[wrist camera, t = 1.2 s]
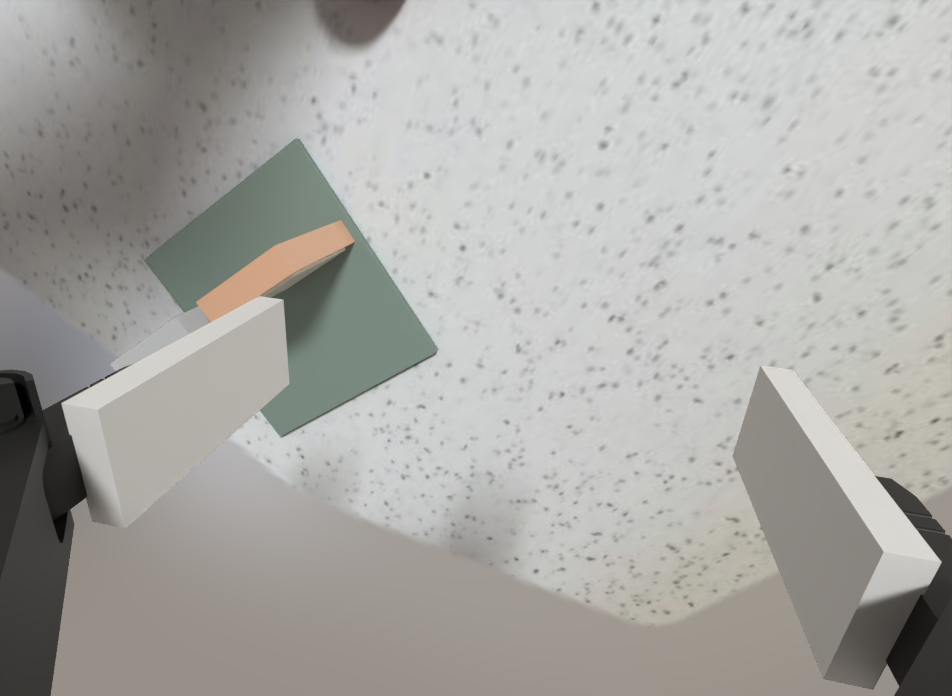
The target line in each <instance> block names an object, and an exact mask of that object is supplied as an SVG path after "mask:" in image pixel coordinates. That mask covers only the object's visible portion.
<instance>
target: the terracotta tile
mask: <svg viewBox="0 0 952 696" xmlns="http://www.w3.org/2000/svg"><path fill="white" fill-rule="evenodd" d="M354 242H355V240H354V239H353V237H352V236H351V234H350V233H349V231H348V230H347V228H346V227H345V225H344V224H343V222H342V221H341V220H339V221H337V222H334V223H332V224H329V225H326V226H324V227H321V228H319V229H316V230H313V231H311V232H308V233H306V234H303V235H300V236H298V237H295V238H293V239H290V240H288V241H285V242H282V243H280V244H277V245H275V246H273V247H272V248H271V249H269V250H268V251H267V252H265V253H264V254H262V255H261V256H260V257H258V258H257V259H255V260H254V261H253V262H251V263H250V264H248V265H247V266H246V267H244V268H243V269H241V270H240V271H239V272H237V273H236V274H234V275H233V276H232V277H230V278H229V279H228V280H226V281H225V282H223V283H222V284H221V285H219V286H218V287H216V288H215V289H214V290H212V291H211V292H209V293H208V294H207V295H205V296H204V297H202V298H201V299H200V300H198V301H197V302H196V303H197V304H198V306H199V307H200V308H201V309H202V311H203V312H204V313H205V315H206V316H207V317H208V319H209V320H210V321H211V322H212V321H214V320H216V319H218V318H220V317H222V316H223V315H225V314H227V313H229V312H231V311H233V310H235V309H236V308H238V307H240V306H242V305H244V304H246V303H248V302H249V301H251V300H253V299H255V298H257V297H259V296H261V297H268V298H271V297H273V296H275V295H277V294H279V293H280V292H282V291H284V290H286V289H288V288H289V287H291V286H292V285H294V284H295V283H297V282H298V281H300V280H301V279H303V278H304V277H306V276H307V275H309V274H310V273H312V272H313V271H315V270H316V269H318V268H319V267H321V266H322V265H324V264H325V263H327V262H328V261H330V260H331V259H333V258H334V257H336V256H337V255H339V254H340V253H342V252H343V251H345V250H346V249H345V248H346V247H348V246H349V245H351V244H352V243H354Z"/></svg>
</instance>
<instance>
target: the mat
mask: <svg viewBox="0 0 952 696" xmlns="http://www.w3.org/2000/svg"><path fill="white" fill-rule="evenodd" d="M339 220H341V221H342V222H343V224H344V225H345V227H346V228H347V230H348V231H349V233H350V234H351V236H352V237H353V239H354V240H355V242H354V243H352V244H351V245H349V246H348V247H346V248H345V249H346V250H345V251H343V252H342V253H340V254H339V255H337V256H336V257H334V258H333V259H331V260H330V261H328V262H327V263H325V264H324V265H322V266H321V267H319V268H318V269H316V270H315V271H313V272H312V273H310V274H309V275H307V276H306V277H304V278H303V279H301V280H300V281H298V282H297V283H295V284H294V285H292V286H291V287H289V288H288V289H286V290H284V291H282V292H280V293H279V294H277V295H275V296H273V297H271V298H276V299H283V301H284V314H285V328H286V342H287V356H288V369H289V383H290V384H289V385H288V386H287V387H285V388H284V389H283V390H282V391H281V392H280V393H279V394H277V395H276V396H275V397H274V398H273V399H272V400H271V401H269V402H268V403H267V404H266V405H265V406H264V407H263V408H262V409H260V411H261V412H262V413H263V415H264V416H265V417H266V419H267V420H268V421H269V422H270V424H271V425H272V426H273V428H274V429H275V430H276V432H277V433H278V434H279V435H280V436H282V435H284V434H286V433H288V432H289V431H291V430H293V429H295V428H297V427H299V426H301V425H302V424H304V423H306V422H308V421H310V420H312V419H314V418H315V417H317V416H319V415H321V414H323V413H325V412H327V411H328V410H330V409H332V408H334V407H336V406H338V405H340V404H341V403H343V402H345V401H347V400H349V399H351V398H353V397H354V396H356V395H358V394H360V393H362V392H364V391H365V390H367V389H369V388H371V387H373V386H375V385H377V384H378V383H380V382H382V381H384V380H386V379H388V378H390V377H391V376H393V375H395V374H397V373H399V372H401V371H403V370H404V369H406V368H408V367H410V366H412V365H414V364H416V363H417V362H419V361H421V360H423V359H425V358H427V357H429V356H430V355H432V354H434V353H436V352H437V351H438V348H437V347H436V345H435V344H434V342H433V341H432V339H431V338H430V336H429V335H428V333H427V332H426V330H425V328H424V327H423V325H422V324H421V322H420V321H419V319H418V318H417V316H416V315H415V313H414V312H413V310H412V309H411V307H410V306H409V304H408V303H407V301H406V300H405V298H404V297H403V295H402V294H401V292H400V291H399V289H398V288H397V286H396V285H395V283H394V282H393V280H392V279H391V277H390V276H389V274H388V273H387V271H386V270H385V268H384V267H383V265H382V263H381V262H380V260H379V259H378V257H377V256H376V254H375V253H374V251H373V250H372V248H371V247H370V245H369V244H368V242H367V241H366V239H365V238H364V236H363V235H362V233H361V232H360V230H359V229H358V227H357V226H356V224H355V223H354V221H353V220H352V218H351V217H350V215H349V214H348V212H347V211H346V209H345V208H344V206H343V205H342V203H341V202H340V200H339V198H338V197H337V195H336V194H335V192H334V191H333V189H332V188H331V186H330V185H329V183H328V182H327V180H326V179H325V177H324V176H323V174H322V173H321V171H320V170H319V168H318V167H317V165H316V164H315V162H314V161H313V159H312V158H311V156H310V155H309V153H308V152H307V150H306V149H305V147H304V146H303V144H302V143H301V141H300V140H299V139H295V140H293V141H292V142H291V143H290V144H288V145H287V146H286V147H285V148H283V149H282V150H281V151H280V152H278V153H277V154H276V155H275V156H273V157H272V158H271V159H270V160H268V161H267V162H266V163H265V164H263V165H262V166H261V167H260V168H258V169H257V170H256V171H255V172H253V173H252V174H251V175H250V176H248V177H247V178H246V179H245V180H244V181H242V182H241V183H240V184H239V185H237V186H236V187H235V188H234V189H232V190H231V191H230V192H229V193H227V194H226V195H225V196H224V197H222V198H221V199H220V200H219V201H217V202H216V203H215V204H214V205H212V206H211V207H210V208H209V209H207V210H206V211H205V212H204V213H202V214H201V215H200V216H199V217H197V218H196V219H195V220H194V221H192V222H191V223H190V224H189V225H187V226H186V227H185V228H184V229H182V230H181V231H180V232H179V233H177V234H176V235H175V236H174V237H172V238H171V239H170V240H169V241H167V242H166V243H165V244H164V245H162V246H161V247H160V248H159V249H157V250H156V251H155V252H154V253H152V254H151V255H150V256H149V257H147V258H146V259H145V260H144V261H145V262H146V263H147V264H148V266H149V267H150V268H151V270H152V271H153V272H154V274H155V275H156V276H157V277H158V279H159V280H160V281H161V283H162V284H163V285H164V286H165V288H166V289H167V290H168V292H169V293H170V294H171V296H172V297H173V298H174V299H175V301H176V302H177V303H178V305H179V306H180V307H181V308H182V310H183V311H184V312H187V311H189V310H191V309H194V308H196V307H198V304H197V303H196V302H197V301H198V300H200V299H201V298H202V297H204V296H205V295H207V294H208V293H209V292H211V291H212V290H214V289H215V288H216V287H218V286H219V285H221V284H222V283H223V282H225V281H226V280H228V279H229V278H230V277H232V276H233V275H234V274H236V273H237V272H239V271H240V270H241V269H243V268H244V267H246V266H247V265H248V264H250V263H251V262H253V261H254V260H255V259H257V258H258V257H260V256H261V255H262V254H264V253H265V252H267V251H268V250H269V249H271V248H272V247H273V246H275V245H277V244H280V243H282V242H285V241H288V240H290V239H293V238H295V237H298V236H300V235H303V234H306V233H308V232H311V231H313V230H316V229H319V228H321V227H324V226H326V225H329V224H332V223H334V222H337V221H339Z"/></svg>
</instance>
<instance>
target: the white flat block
mask: <svg viewBox="0 0 952 696" xmlns="http://www.w3.org/2000/svg"><path fill="white" fill-rule="evenodd" d="M209 323H211V321H210V320H209V319H208V317H207V316H206V315H205V313H204V312H203V311H202V309H201V308H200V307H199V306H198V307H196V308H194V309H191V310H189V311H187V312H185V313H183V314H181V315H179V316H176V317H175V318H173V319H172V320H170V321H169V322H168V323H166V324H165V325H164V326H162V327H161V328H159V329H158V330H157V331H155V332H154V333H152V334H151V335H150V336H148V337H147V338H145V339H144V340H143V341H141V342H140V343H138V344H137V345H136V346H134V347H133V348H131V349H130V350H129V351H127V352H126V353H125V354H123V355H122V356H120V357H119V358H118V359H116V360H115V361H113V362H112V363H111V364H110V365H111V366H112V368H113V369H114V370H115V371H117V370H119V369H121V368H123V367H126V366H129V365H132V364H135V363H137V362H138V361H140V360H142V359H144V358H146V357H148V356H149V355H151V354H153V353H155V352H157V351H159V350H161V349H162V348H164V347H166V346H168V345H170V344H172V343H174V342H175V341H177V340H179V339H181V338H183V337H185V336H186V335H188V334H190V333H192V332H194V331H196V330H198V329H199V328H201V327H203V326H205V325H207V324H209Z"/></svg>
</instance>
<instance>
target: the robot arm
mask: <svg viewBox="0 0 952 696" xmlns="http://www.w3.org/2000/svg"><path fill="white" fill-rule="evenodd" d="M289 384H290V383H289V369H288V356H287V342H286V328H285V314H284V301H283V299H276V298H268V297H261V296H259V297H257V298H255V299H253V300H251V301H249V302H248V303H246V304H244V305H242V306H240V307H238V308H236V309H235V310H233V311H231V312H229V313H227V314H225V315H223V316H222V317H220V318H218V319H216V320H214V321H212V322H211V323H209V324H207V325H205V326H203V327H201V328H199V329H198V330H196V331H194V332H192V333H190V334H188V335H186V336H185V337H183V338H181V339H179V340H177V341H175V342H174V343H172V344H170V345H168V346H166V347H164V348H162V349H161V350H159V351H157V352H155V353H153V354H151V355H149V356H148V357H146V358H144V359H142V360H140V361H138V362H137V363H135V364H132V365H129V366H126V367H123V368H121V369H119V370H117V371H116V372H114V373H112V374H110V375H108V376H106V377H105V379H101V380H99V381H97V382H95V383H93V384H91V385H90V387H89V388H88V387H86V388H84V389H82V390H80V391H78V392H76V393H74V394H73V395H71V396H69V397H67V398H65V399H63V400H61V401H59V402H58V403H56V404H54V405H52V406H50V407H48V408H46V409H45V410H43V411H42V407H41V404H40V401H39V397H38V394H37V390H36V386H35V383H34V379H33V376H32V374H30V373H28V372H25V371H17V370H3V371H0V696H50V695H51V688H52V681H53V674H54V666H55V659H56V652H57V645H58V637H59V630H60V623H61V615H62V608H63V601H64V594H65V587H66V580H67V572H68V565H69V558H70V551H71V544H72V536H73V529H74V522H73V518H72V514H71V511H70V509H71V508H73V507H74V506H75V505H77V504H78V503H79V502H81V501H82V500H83V499H84V498H86V499H87V503H88V507H89V510H90V514H91V518H92V521H93V522H98V523H103V524H108V525H112V526H117V527H122V528H127V527H128V526H129V525H130V524H131V523H132V522H133V521H134V520H136V519H137V518H138V517H139V516H140V515H141V514H142V513H144V512H145V511H146V510H147V509H148V508H149V507H150V506H151V505H153V504H154V503H155V502H156V501H157V500H158V499H159V498H161V497H162V496H163V495H164V494H165V493H166V492H167V491H168V490H170V489H171V488H172V487H173V486H174V485H175V484H176V483H178V482H179V481H180V480H181V479H182V478H183V477H184V476H185V475H187V474H188V473H189V472H190V471H191V470H192V469H193V468H195V466H197V465H198V464H199V463H200V462H201V461H202V460H204V459H205V458H206V457H207V456H208V455H209V454H210V453H212V452H213V451H214V450H215V449H216V448H217V447H218V446H220V444H222V443H223V442H224V441H225V440H226V439H228V438H229V437H230V436H231V435H232V434H233V433H234V432H235V431H237V430H238V429H239V428H240V427H241V426H242V425H243V424H245V423H246V422H247V421H248V420H249V419H250V418H251V417H252V416H254V415H255V414H256V413H257V412H258V411H259V410H260V409H262V408H263V407H264V406H265V405H266V404H267V403H268V402H269V401H271V400H272V399H273V398H274V397H275V396H276V395H277V394H279V393H280V392H281V391H282V390H283V389H284V388H285V387H287V386H288V385H289ZM733 458H734V460H735V463H736V465H737V468H738V470H739V473H740V475H741V478H742V480H743V483H744V485H745V488H746V490H747V492H748V495H749V497H750V500H751V502H752V505H753V507H754V510H755V512H756V515H757V517H758V520H759V522H760V525H761V527H762V529H763V532H764V534H765V537H766V539H767V542H768V544H769V547H770V549H771V552H772V554H773V557H774V559H775V562H776V564H777V566H778V569H779V571H780V574H781V576H782V579H783V581H784V584H785V586H786V589H787V591H788V593H789V596H790V599H791V601H792V603H793V606H794V608H795V611H796V613H797V616H798V618H799V621H800V623H801V626H802V628H803V631H804V633H805V635H806V638H807V640H808V643H809V645H810V648H811V650H812V653H813V655H814V658H815V660H816V663H817V665H818V668H819V670H820V672H821V675H822V677H823V679H826V680H831V681H836V682H840V683H845V684H849V685H854V686H859V687H863V688H868V689H874V687H875V685H876V683H877V681H878V680H879V678H880V676H881V674H882V672H883V670H884V668H885V667H886V665H887V664H888V666H889V668H890V670H891V672H892V673H893V675H894V677H895V679H896V681H897V683H898V684H899V689H898V690H897V692H896V694H895V695H894V696H952V539H951V538H950V536H949V535H945V530H944V529H943V528H942V527H941V525H940V524H939V523H938V522H937V521H936V520H935V519H932V515H931V514H930V512H929V511H928V510H927V509H926V508H925V507H924V505H923V504H922V503H921V502H920V501H919V499H918V498H917V497H916V496H915V495H913V494H912V493H910V492H909V491H908V490H906V489H905V488H903V487H902V486H901V485H899V484H898V483H897V482H895V481H894V480H892V479H889V478H883V477H877V476H874V474H873V473H872V472H871V470H870V469H869V468H868V467H867V465H866V464H865V463H864V461H863V460H862V459H861V458H860V456H859V455H858V454H857V452H856V451H855V450H854V449H853V447H852V446H851V445H850V443H849V442H848V441H847V440H846V438H845V437H844V436H843V434H842V433H841V432H840V431H839V429H838V428H837V427H836V425H835V424H834V423H833V422H832V420H831V419H830V418H829V416H828V415H827V414H826V413H825V411H824V410H823V409H822V407H821V406H820V405H819V404H818V402H817V401H816V400H815V398H814V397H813V396H812V395H811V393H810V392H809V391H808V389H807V388H806V387H805V386H804V384H803V383H802V382H801V380H800V379H799V378H798V376H797V375H796V374H795V373H794V371H793V370H789V369H782V368H774V367H767V366H760V369H759V372H758V375H757V379H756V382H755V385H754V388H753V392H752V395H751V398H750V401H749V405H748V408H747V411H746V414H745V418H744V421H743V424H742V427H741V431H740V434H739V437H738V440H737V444H736V447H735V450H734V453H733Z"/></svg>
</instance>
